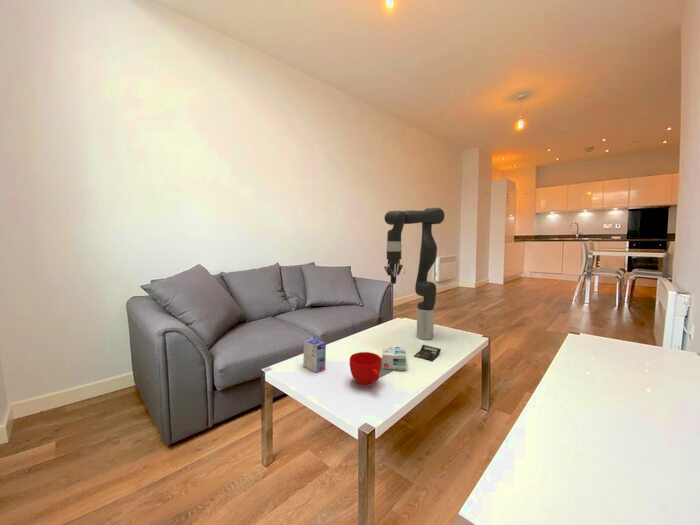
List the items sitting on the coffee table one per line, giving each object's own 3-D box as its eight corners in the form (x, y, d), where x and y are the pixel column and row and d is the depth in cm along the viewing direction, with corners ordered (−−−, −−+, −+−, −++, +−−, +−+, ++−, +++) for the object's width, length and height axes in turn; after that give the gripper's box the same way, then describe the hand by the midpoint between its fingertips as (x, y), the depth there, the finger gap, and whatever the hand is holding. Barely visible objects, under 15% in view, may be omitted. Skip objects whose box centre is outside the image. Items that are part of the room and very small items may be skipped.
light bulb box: (404, 346, 140) (406, 355, 130) (404, 360, 141) (406, 370, 130) (382, 345, 142) (382, 354, 131) (382, 359, 142) (382, 369, 131)
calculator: (413, 357, 146) (414, 351, 146) (422, 349, 155) (423, 344, 155) (432, 362, 140) (432, 356, 140) (440, 354, 150) (440, 348, 149)
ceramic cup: (361, 398, 109) (362, 372, 108) (344, 377, 124) (344, 354, 123) (392, 391, 114) (392, 366, 113) (371, 372, 129) (372, 350, 128)
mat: (372, 354, 148) (372, 354, 148) (401, 366, 135) (401, 366, 135) (349, 364, 137) (349, 363, 137) (378, 378, 124) (378, 377, 124)
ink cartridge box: (326, 369, 132) (326, 337, 130) (316, 373, 128) (316, 341, 126) (312, 362, 138) (312, 332, 137) (302, 366, 134) (302, 335, 133)
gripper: (396, 249, 158) (395, 281, 160) (380, 250, 149) (379, 284, 151) (407, 250, 153) (406, 283, 155) (391, 251, 144) (391, 286, 146)
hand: (393, 283), depth 153 cm, fingers closed
